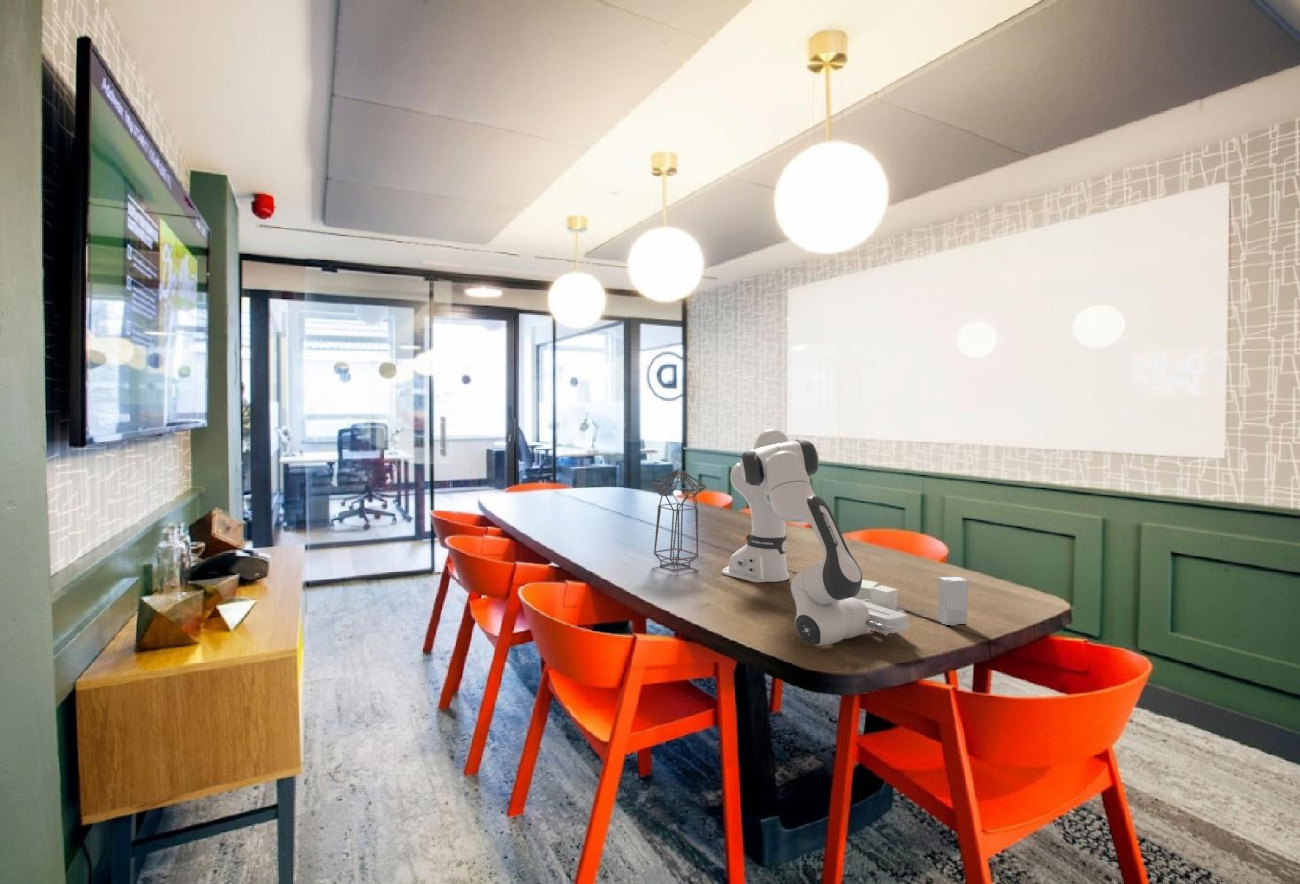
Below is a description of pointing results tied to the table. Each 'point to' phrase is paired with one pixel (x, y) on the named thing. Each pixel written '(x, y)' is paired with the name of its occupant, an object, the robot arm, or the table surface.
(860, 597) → the sage block
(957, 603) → the skincare box
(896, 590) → the tall grey block
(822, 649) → the table surface
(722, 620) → the table surface
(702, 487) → the geometric lantern
